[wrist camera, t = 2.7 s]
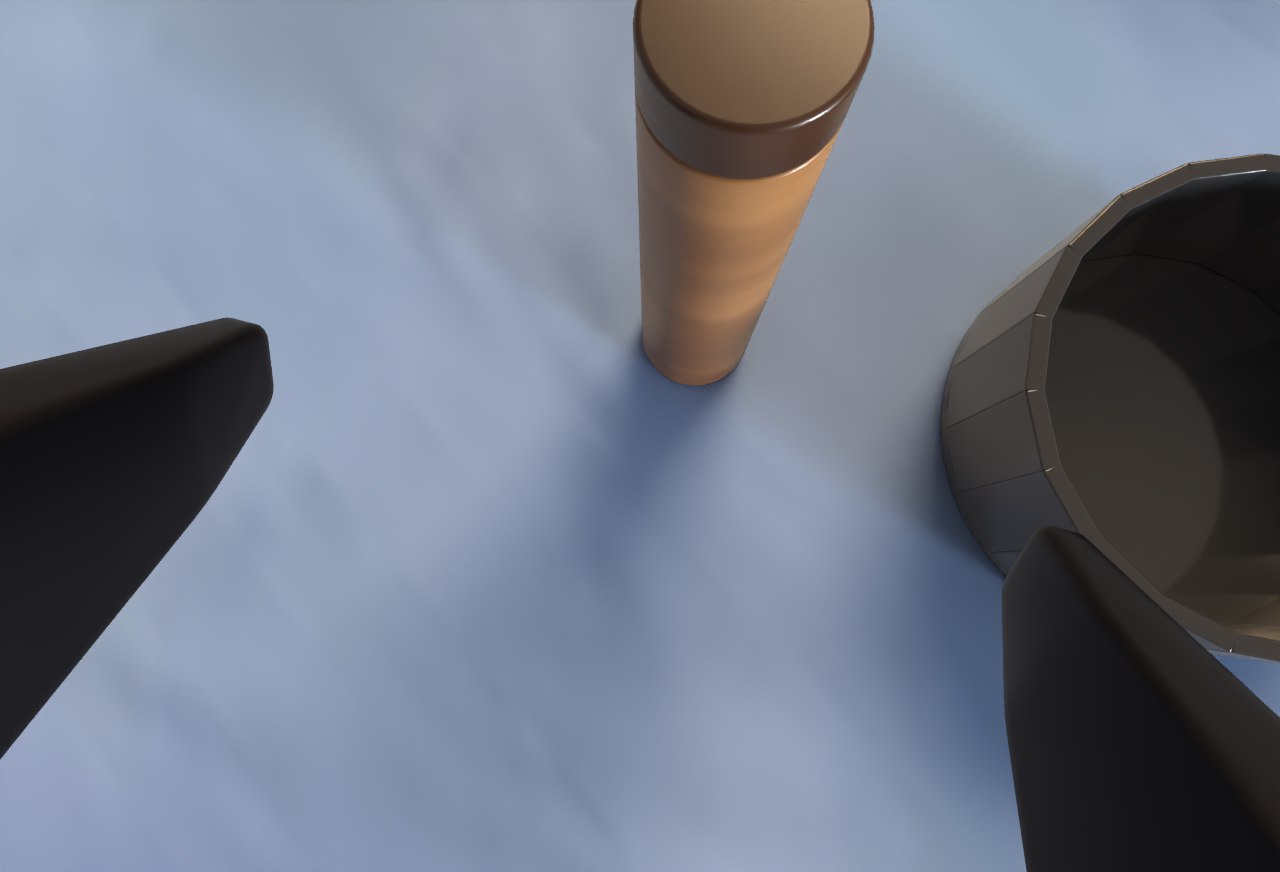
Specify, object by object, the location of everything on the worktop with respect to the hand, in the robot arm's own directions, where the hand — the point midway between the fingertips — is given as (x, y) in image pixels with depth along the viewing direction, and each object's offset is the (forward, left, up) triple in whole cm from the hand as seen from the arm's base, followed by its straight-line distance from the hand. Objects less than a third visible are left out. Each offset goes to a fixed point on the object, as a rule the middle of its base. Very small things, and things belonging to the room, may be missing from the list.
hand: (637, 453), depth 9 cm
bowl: (-7, -11, -12) cm, 18 cm away
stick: (+3, -4, -12) cm, 13 cm away
